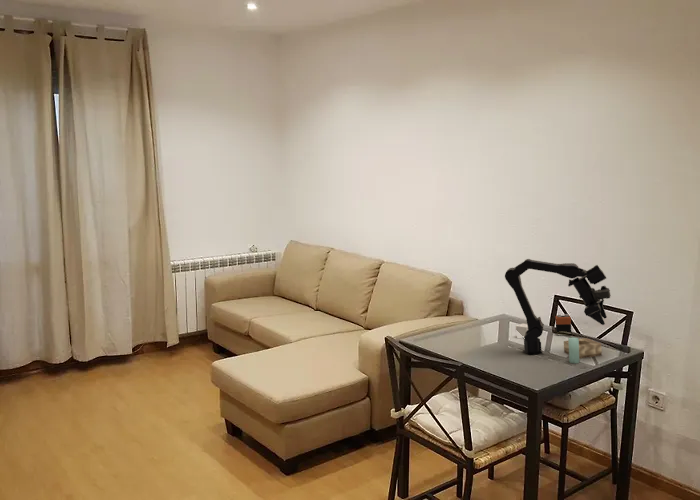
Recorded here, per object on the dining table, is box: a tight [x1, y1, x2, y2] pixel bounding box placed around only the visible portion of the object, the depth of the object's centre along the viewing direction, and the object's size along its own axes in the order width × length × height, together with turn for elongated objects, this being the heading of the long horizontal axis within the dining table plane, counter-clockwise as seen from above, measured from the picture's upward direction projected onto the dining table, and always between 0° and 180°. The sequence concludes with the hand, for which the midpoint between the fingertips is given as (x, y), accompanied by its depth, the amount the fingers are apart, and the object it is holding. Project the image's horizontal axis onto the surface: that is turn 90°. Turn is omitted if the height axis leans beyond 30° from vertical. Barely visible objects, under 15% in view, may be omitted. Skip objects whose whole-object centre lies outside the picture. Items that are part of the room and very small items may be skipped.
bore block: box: [563, 337, 603, 360], centre depth 265 cm, size 11×11×5 cm
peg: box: [567, 336, 580, 364], centre depth 254 cm, size 4×4×10 cm
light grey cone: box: [515, 323, 528, 336], centre depth 299 cm, size 6×6×6 cm
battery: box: [555, 313, 572, 333], centre depth 297 cm, size 4×7×10 cm, turn 76°
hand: (604, 321), depth 260 cm, fingers open, 9 cm apart
